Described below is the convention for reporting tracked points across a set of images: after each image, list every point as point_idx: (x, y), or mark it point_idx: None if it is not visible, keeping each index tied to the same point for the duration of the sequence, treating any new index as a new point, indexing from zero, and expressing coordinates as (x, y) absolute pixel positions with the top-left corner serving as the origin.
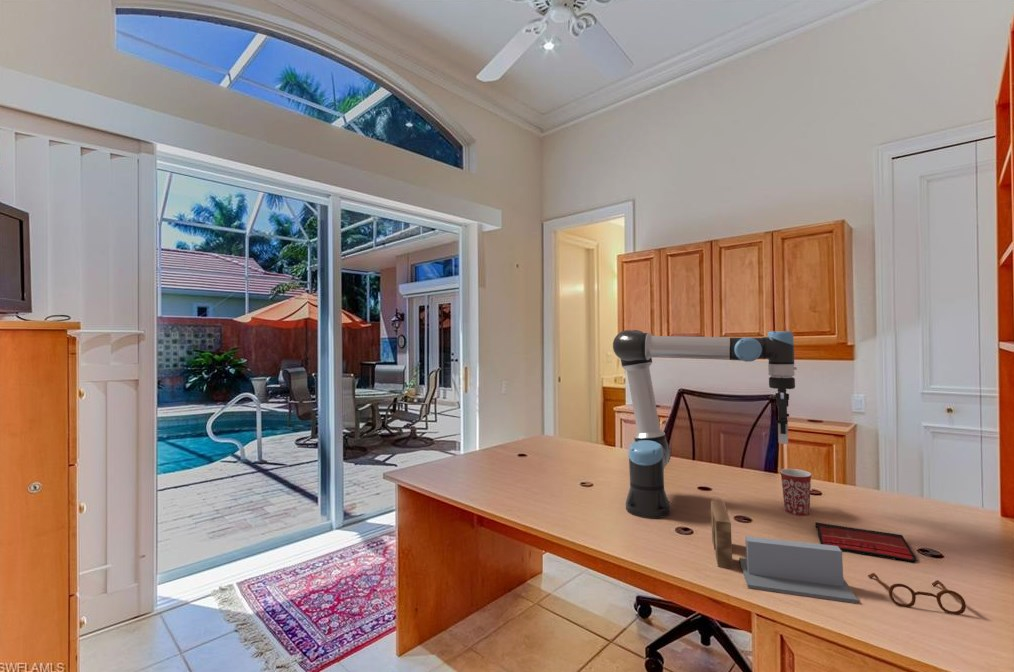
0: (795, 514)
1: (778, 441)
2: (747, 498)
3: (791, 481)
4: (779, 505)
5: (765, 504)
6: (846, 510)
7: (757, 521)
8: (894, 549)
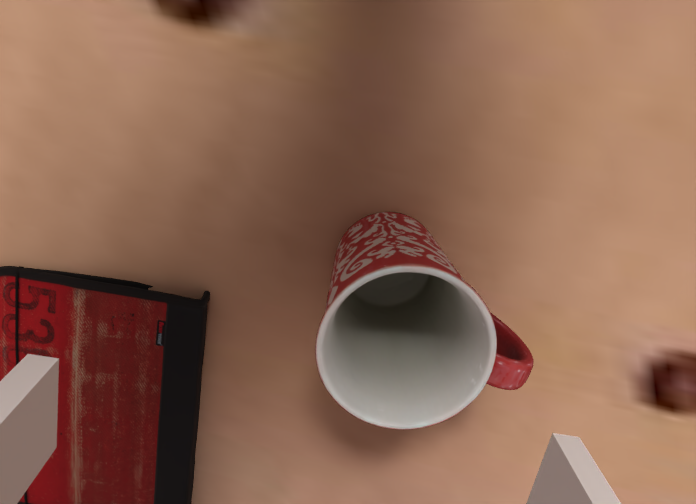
0: (338, 245)
1: (16, 367)
2: (540, 54)
3: (331, 297)
4: (458, 200)
5: (458, 135)
6: (453, 444)
7: (188, 53)
8: (49, 474)
